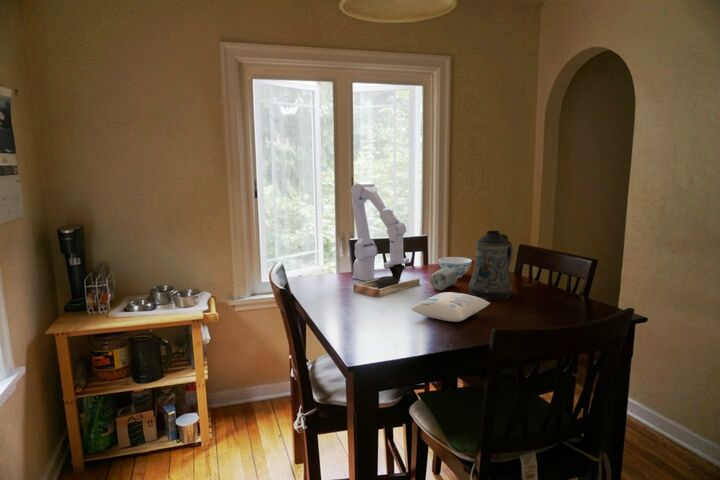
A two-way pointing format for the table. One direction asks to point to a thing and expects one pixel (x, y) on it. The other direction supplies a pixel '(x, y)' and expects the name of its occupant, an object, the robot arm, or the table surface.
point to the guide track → (369, 290)
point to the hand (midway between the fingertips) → (396, 281)
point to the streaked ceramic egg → (443, 278)
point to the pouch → (450, 306)
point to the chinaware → (456, 264)
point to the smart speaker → (387, 281)
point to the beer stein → (492, 267)
